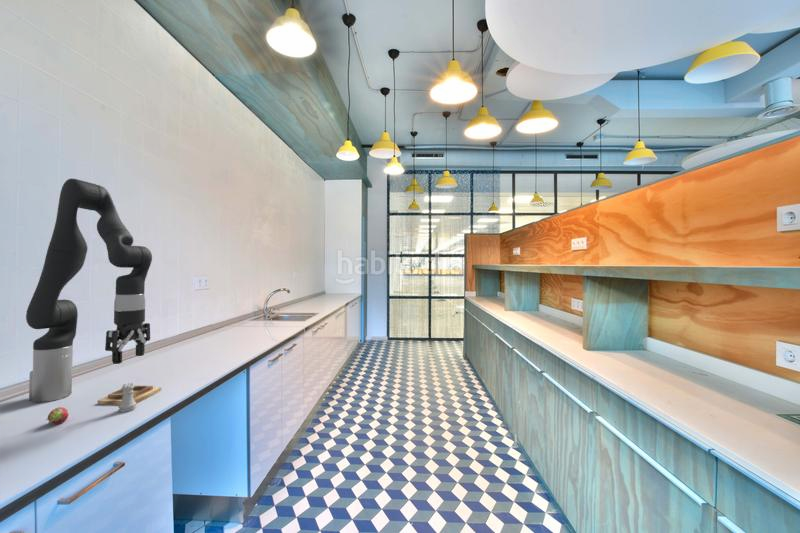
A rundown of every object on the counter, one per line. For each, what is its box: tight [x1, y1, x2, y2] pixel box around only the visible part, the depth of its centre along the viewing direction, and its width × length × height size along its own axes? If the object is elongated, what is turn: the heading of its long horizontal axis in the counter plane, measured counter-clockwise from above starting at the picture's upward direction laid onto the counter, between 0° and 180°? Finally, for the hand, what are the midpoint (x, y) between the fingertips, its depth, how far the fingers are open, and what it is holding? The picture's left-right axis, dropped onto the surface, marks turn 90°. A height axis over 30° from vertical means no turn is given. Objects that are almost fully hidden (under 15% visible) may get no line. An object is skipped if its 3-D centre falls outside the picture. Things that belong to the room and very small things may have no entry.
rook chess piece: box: [117, 382, 137, 413], centre depth 101 cm, size 4×4×8 cm
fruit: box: [45, 406, 69, 425], centre depth 92 cm, size 4×6×5 cm
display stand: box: [97, 385, 162, 406], centre depth 111 cm, size 12×12×2 cm
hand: (128, 359), depth 101 cm, fingers open, 8 cm apart
